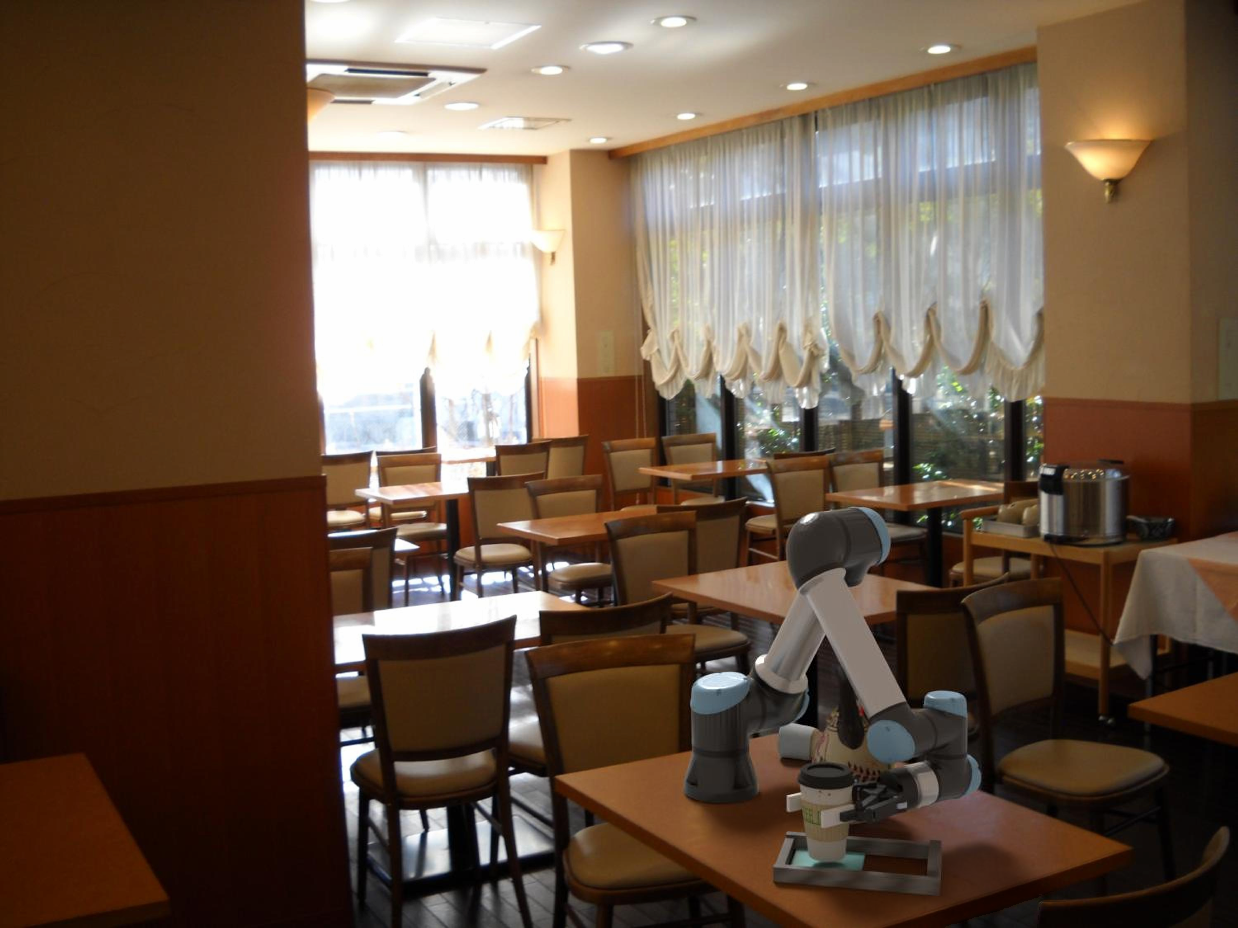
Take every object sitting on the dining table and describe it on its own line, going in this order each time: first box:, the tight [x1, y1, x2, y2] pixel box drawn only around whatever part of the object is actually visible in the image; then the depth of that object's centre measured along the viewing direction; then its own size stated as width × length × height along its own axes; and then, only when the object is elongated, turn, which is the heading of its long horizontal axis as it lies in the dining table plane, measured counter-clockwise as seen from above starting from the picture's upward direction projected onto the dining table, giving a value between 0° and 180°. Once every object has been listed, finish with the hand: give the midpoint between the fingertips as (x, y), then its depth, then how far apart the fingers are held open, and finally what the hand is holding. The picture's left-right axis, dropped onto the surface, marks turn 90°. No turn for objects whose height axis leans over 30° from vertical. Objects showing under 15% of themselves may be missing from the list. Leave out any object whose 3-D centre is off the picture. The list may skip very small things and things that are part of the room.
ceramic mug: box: [777, 722, 822, 761], centre depth 285 cm, size 11×8×8 cm
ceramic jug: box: [811, 665, 892, 825], centre depth 244 cm, size 17×15×30 cm
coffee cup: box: [796, 762, 855, 862], centre depth 221 cm, size 10×10×15 cm
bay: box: [772, 831, 943, 897], centre depth 220 cm, size 27×17×4 cm, turn 75°
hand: (804, 811), depth 219 cm, fingers closed on coffee cup, 9 cm apart
